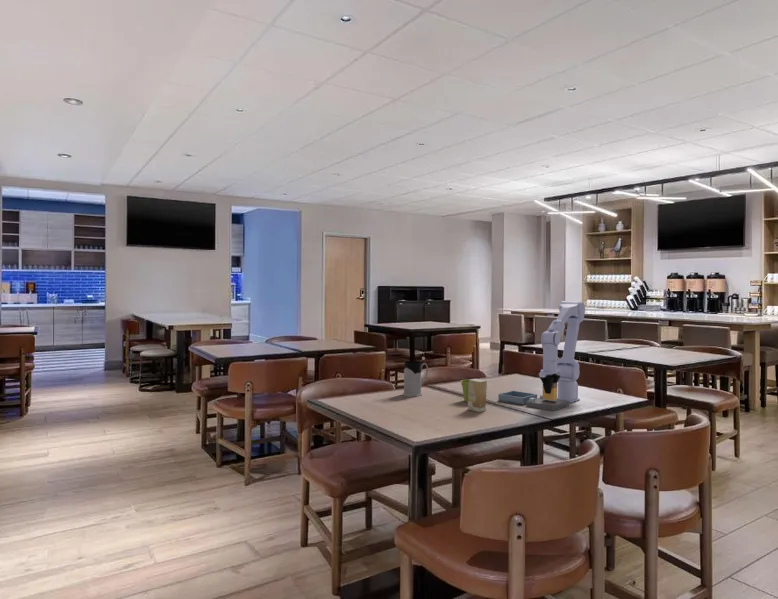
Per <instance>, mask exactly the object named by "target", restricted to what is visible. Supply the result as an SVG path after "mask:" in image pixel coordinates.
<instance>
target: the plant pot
mask: <svg viewBox="0 0 778 599" xmlns="http://www.w3.org/2000/svg"><path fill="white" fill-rule="evenodd" d="M469 380H470V379H462V380H460V383H461V387H462V394H463V401H464V402H466V403H468V387H469Z"/></svg>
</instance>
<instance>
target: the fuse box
mask: <svg viewBox="0 0 778 599" xmlns="http://www.w3.org/2000/svg"><path fill="white" fill-rule="evenodd" d="M569 404H570V402H569V401H566V400H559V399H557V400H547V399H543V394H540V396H539V397H537V399H535V398H529V401H526V404H525V407H528V408H533V409H540V410H544V411H551V412H553V411H557V410H560V409H562V408H566V407H569V406H570V405H569Z"/></svg>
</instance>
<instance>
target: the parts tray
mask: <svg viewBox="0 0 778 599" xmlns="http://www.w3.org/2000/svg"><path fill="white" fill-rule="evenodd" d="M497 398H498V402H502V403H503V402H504V403H509V404H513V403H514V404H515V405H519V404H520V405H521V406H526V401H529V398H535V399H537V398H538V394H537V393H531V392H525V391H519V390H510V391H506V392H502V393H498V397H497ZM520 405H519V406H520Z"/></svg>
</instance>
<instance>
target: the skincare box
mask: <svg viewBox="0 0 778 599" xmlns="http://www.w3.org/2000/svg"><path fill="white" fill-rule="evenodd" d="M468 380H469V387H468V402H467V410H470V411H474V412H477V413H481V412H486V411H487V389H488V388H487V387H488V386H487V385H488V384H487V382H488V381H487V380H484V379H479V378H471V379H468Z"/></svg>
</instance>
